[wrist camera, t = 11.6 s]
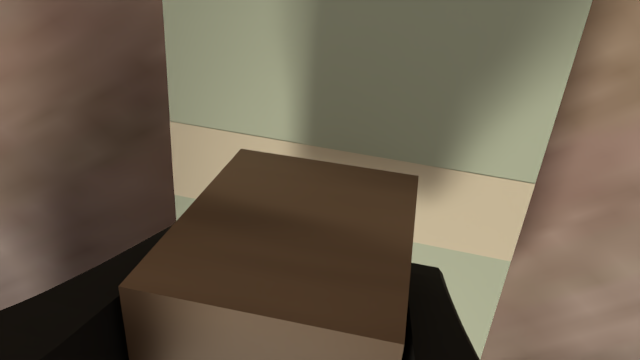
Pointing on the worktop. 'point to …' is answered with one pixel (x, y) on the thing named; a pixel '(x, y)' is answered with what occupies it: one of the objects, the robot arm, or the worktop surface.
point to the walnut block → (279, 266)
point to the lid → (384, 109)
